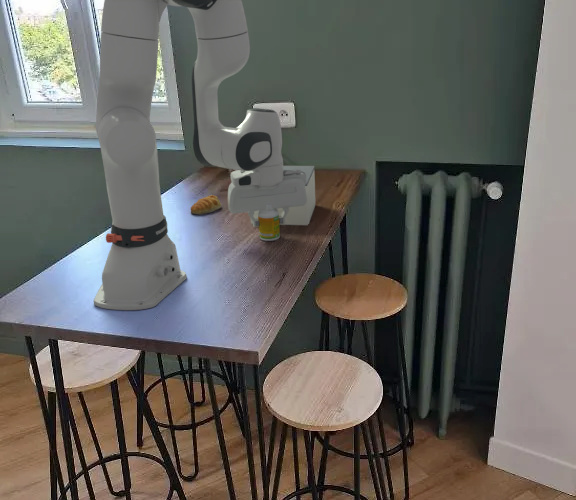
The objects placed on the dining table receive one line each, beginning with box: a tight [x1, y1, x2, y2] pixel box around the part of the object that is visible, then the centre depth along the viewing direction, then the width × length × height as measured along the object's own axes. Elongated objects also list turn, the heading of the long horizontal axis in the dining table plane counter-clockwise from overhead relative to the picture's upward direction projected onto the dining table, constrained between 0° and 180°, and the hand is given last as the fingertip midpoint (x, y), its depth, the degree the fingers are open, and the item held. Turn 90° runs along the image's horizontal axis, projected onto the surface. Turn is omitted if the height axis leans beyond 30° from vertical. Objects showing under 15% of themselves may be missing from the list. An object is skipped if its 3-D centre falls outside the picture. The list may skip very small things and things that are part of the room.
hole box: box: [250, 165, 316, 226], centre depth 170 cm, size 16×16×12 cm
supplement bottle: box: [258, 205, 281, 242], centre depth 156 cm, size 5×5×10 cm
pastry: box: [190, 194, 222, 216], centre depth 178 cm, size 9×7×4 cm
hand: (269, 224), depth 156 cm, fingers closed on supplement bottle, 5 cm apart
